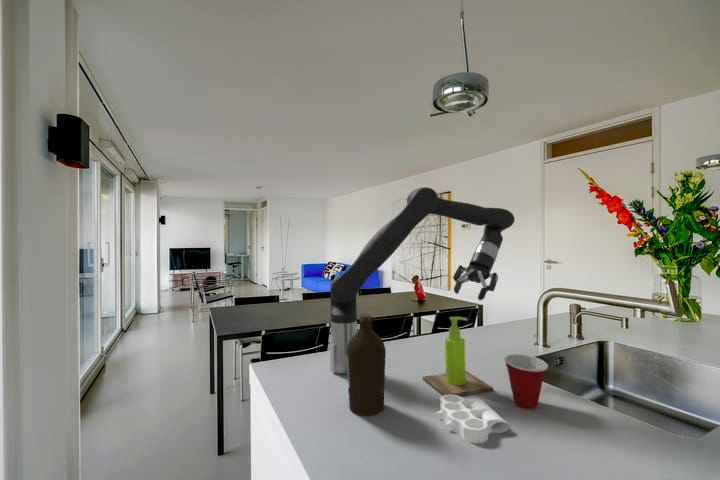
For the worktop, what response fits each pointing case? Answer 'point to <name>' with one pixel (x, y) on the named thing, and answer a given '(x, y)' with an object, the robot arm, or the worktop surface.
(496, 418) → the white flat holed block
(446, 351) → the soap dispenser
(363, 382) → the olive oil
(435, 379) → the soap board
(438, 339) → the worktop surface
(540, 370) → the plastic cup
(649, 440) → the worktop surface
